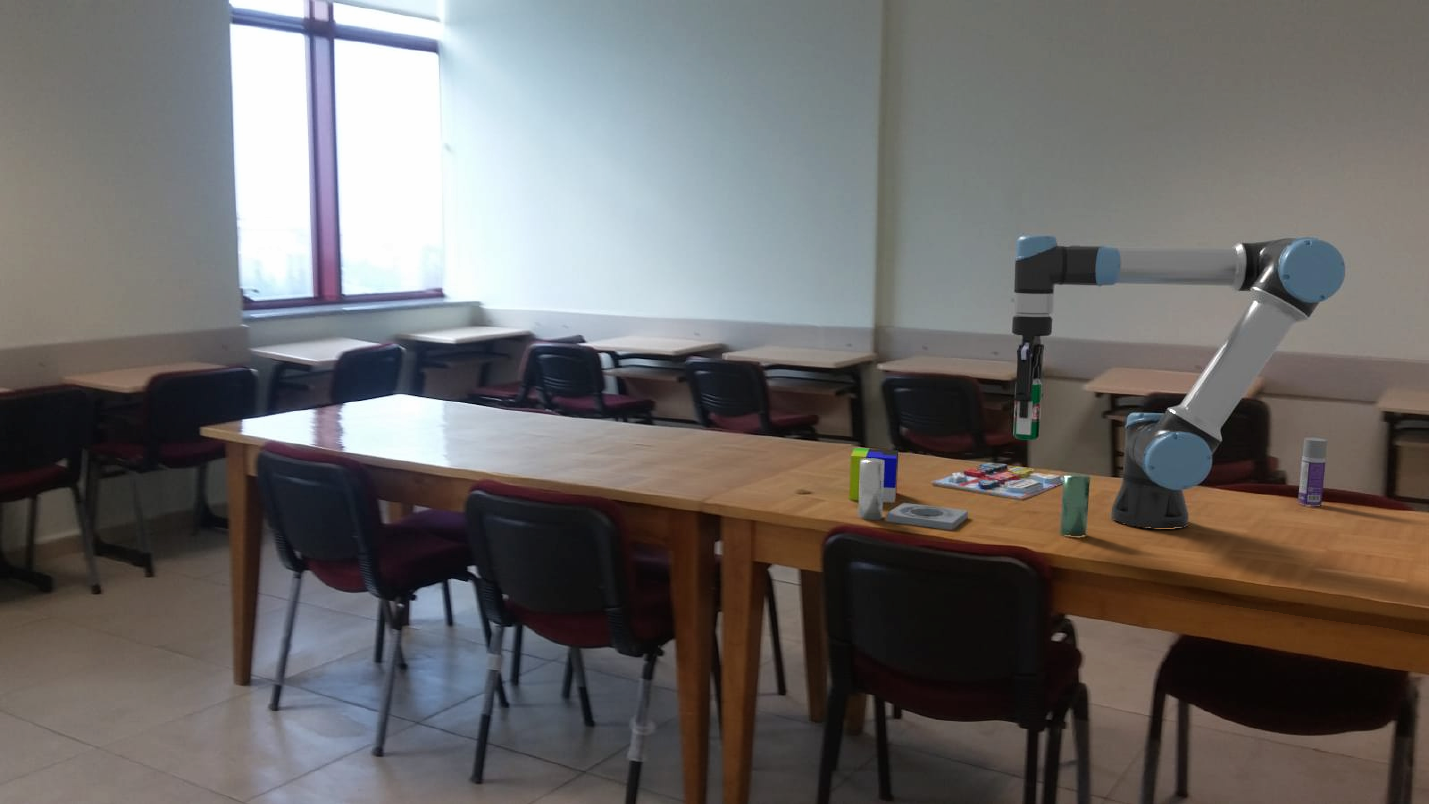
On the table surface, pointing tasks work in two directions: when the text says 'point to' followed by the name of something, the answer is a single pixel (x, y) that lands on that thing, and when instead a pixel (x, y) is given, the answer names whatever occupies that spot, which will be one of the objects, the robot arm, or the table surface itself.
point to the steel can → (871, 489)
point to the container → (1312, 471)
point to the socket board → (911, 513)
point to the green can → (1074, 504)
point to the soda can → (1035, 412)
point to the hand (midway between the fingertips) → (1026, 431)
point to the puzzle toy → (889, 471)
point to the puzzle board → (1001, 481)
